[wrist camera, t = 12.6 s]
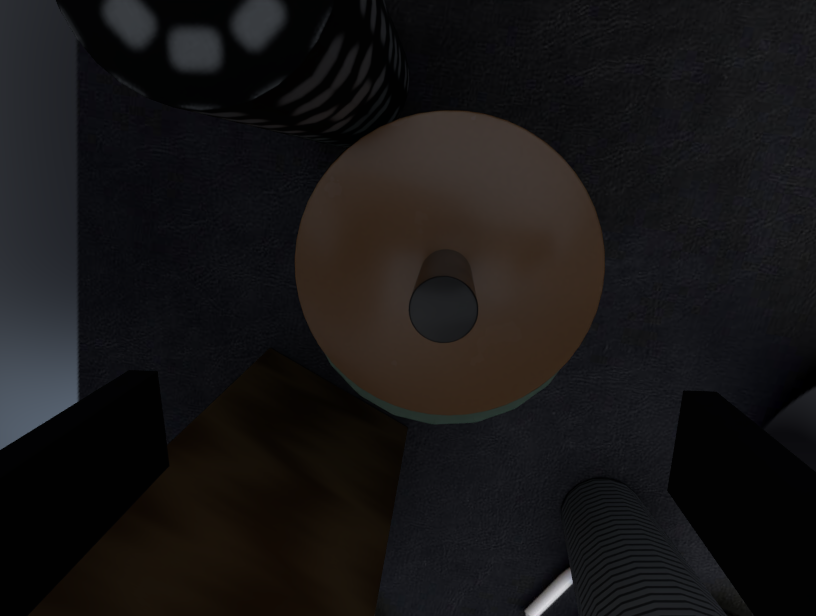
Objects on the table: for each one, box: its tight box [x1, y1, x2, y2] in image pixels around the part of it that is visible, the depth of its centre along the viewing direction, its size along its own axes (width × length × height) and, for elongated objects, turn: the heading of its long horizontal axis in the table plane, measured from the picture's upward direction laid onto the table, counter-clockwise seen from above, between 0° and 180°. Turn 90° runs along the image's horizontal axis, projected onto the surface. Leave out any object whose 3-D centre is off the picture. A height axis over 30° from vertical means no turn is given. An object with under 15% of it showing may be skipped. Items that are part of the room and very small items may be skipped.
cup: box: [561, 479, 727, 616], centre depth 31 cm, size 8×8×16 cm
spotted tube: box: [56, 0, 409, 147], centre depth 23 cm, size 8×8×20 cm
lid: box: [295, 110, 605, 415], centre depth 22 cm, size 16×16×8 cm
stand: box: [28, 348, 408, 616], centre depth 28 cm, size 12×12×24 cm
